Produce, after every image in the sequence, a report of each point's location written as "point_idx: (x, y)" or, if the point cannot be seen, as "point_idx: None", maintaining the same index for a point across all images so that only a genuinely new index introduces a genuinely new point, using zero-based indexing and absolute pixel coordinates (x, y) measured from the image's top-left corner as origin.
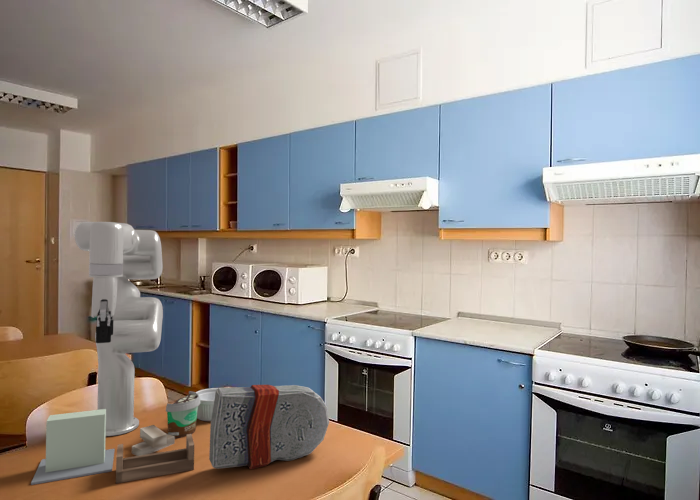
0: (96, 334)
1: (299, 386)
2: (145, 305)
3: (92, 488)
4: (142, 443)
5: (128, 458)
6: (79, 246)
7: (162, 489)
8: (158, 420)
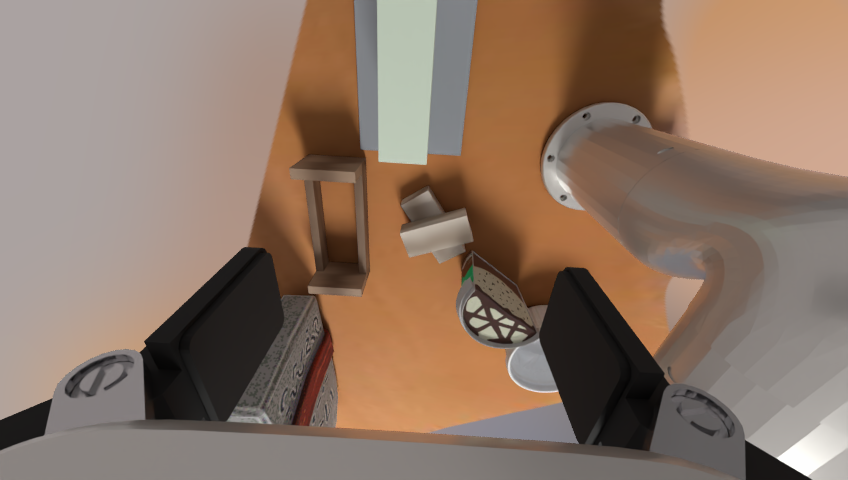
0: (207, 288)
1: None
2: None
3: (302, 114)
4: (432, 209)
5: (356, 182)
6: None
7: (269, 220)
8: (578, 243)
